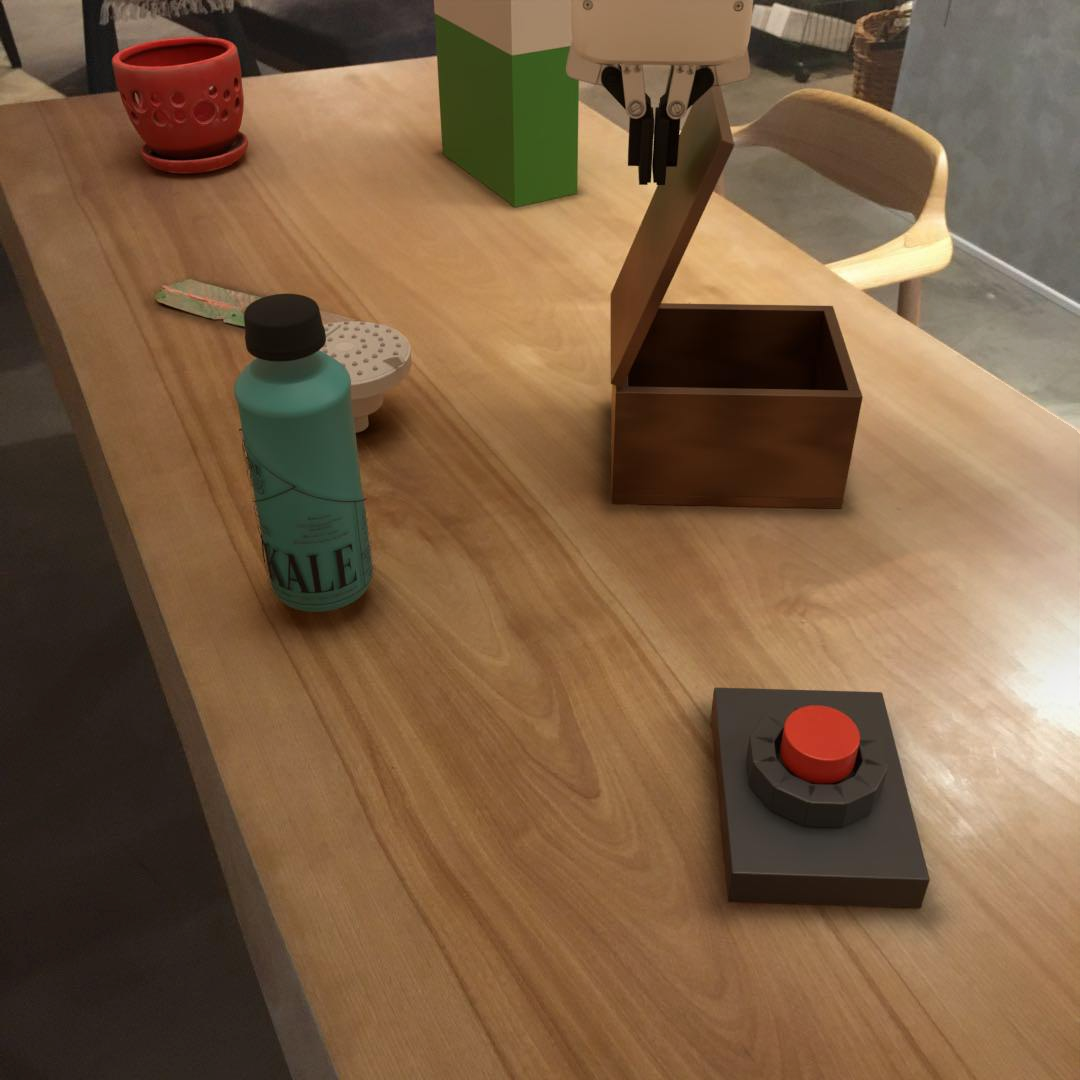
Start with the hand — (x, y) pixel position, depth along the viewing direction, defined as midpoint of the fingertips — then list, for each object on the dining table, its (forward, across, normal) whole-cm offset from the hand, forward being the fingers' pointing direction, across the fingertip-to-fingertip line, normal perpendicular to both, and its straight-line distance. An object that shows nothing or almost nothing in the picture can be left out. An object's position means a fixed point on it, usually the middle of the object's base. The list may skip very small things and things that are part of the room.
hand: (651, 176), depth 73 cm
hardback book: (+21, +13, -54) cm, 60 cm away
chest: (+20, -6, 0) cm, 21 cm away
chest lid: (+4, -1, 0) cm, 4 cm away
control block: (+20, -8, +32) cm, 39 cm away
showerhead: (+21, +21, -3) cm, 30 cm away
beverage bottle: (+21, +19, +17) cm, 33 cm away
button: (+17, -8, +32) cm, 37 cm away
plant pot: (+21, +48, -57) cm, 78 cm away
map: (+21, +33, -20) cm, 44 cm away
